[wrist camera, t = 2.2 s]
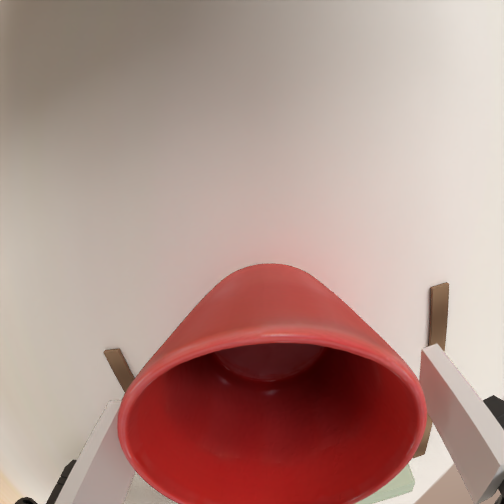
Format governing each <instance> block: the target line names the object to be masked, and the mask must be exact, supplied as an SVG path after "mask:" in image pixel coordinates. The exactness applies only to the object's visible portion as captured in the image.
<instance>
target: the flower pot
mask: <svg viewBox="0 0 504 504" xmlns="http://www.w3.org/2000/svg"><path fill="white" fill-rule="evenodd" d="M426 423H427V406H426V401H425V396H424V393H423V389H422V387H421V384H420V382H419V380H418V379H417V377H416V375H415V374H414V373H413V371H412V370H411V369H410V367H409V366H408V365H407V364H406V363H405V361H404V360H403V359H402V358H401V357H400V356H399V355H398V354H397V353H396V352H395V351H394V350H393V349H392V348H391V347H390V346H389V345H388V344H387V343H386V342H385V341H384V340H383V339H382V337H380V336H379V335H378V334H377V333H376V332H375V331H374V330H373V329H372V328H371V327H370V326H369V325H368V324H366V323H365V322H364V321H363V320H362V319H361V318H360V317H359V316H358V315H357V314H356V313H355V312H354V311H353V310H352V309H351V308H350V307H349V306H348V305H347V304H345V303H344V302H343V301H342V300H341V299H340V298H339V297H338V296H336V295H335V294H334V293H333V292H332V291H330V290H329V289H328V288H327V287H325V286H324V285H323V284H322V283H320V282H319V281H318V280H317V279H315V278H314V277H313V276H311V275H310V274H308V273H306V272H304V271H302V270H300V269H298V268H295V267H292V266H288V265H283V264H258V265H253V266H249V267H246V268H243V269H240V270H238V271H236V272H234V273H232V274H230V275H229V276H227V277H226V278H224V279H223V280H222V281H221V282H219V283H218V284H217V285H216V286H215V287H214V288H213V289H212V290H211V291H210V292H209V293H208V294H207V295H206V296H205V297H204V298H203V299H202V300H201V301H200V302H199V303H198V304H197V306H196V307H195V308H194V309H193V310H192V311H191V312H190V313H189V315H188V316H187V317H186V318H185V319H184V320H183V322H182V323H181V324H180V325H179V326H178V327H177V329H176V330H175V331H174V332H173V333H172V334H171V336H170V337H169V338H168V339H167V340H166V342H165V343H164V344H163V345H162V346H161V347H160V348H159V349H158V351H157V352H156V353H155V354H154V355H153V356H152V358H151V359H150V360H149V361H148V362H147V364H146V365H145V366H144V367H143V369H142V370H141V371H140V372H139V374H138V375H137V376H136V378H135V379H134V380H133V382H132V383H131V384H130V386H129V387H128V389H127V391H126V393H125V395H124V397H123V399H122V402H121V405H120V407H119V412H118V420H117V431H118V438H119V442H120V445H121V448H122V450H123V452H124V455H125V457H126V458H127V460H128V461H129V463H130V464H131V466H132V467H133V468H134V470H135V471H136V472H137V473H138V474H139V475H140V476H141V477H142V478H143V479H144V480H145V481H146V482H147V483H148V484H149V485H150V486H152V487H153V488H154V489H156V490H157V491H158V492H160V493H161V494H163V495H164V496H166V497H167V498H169V499H171V500H173V501H175V502H177V503H178V504H355V503H357V502H359V501H361V500H363V499H365V498H367V497H368V496H370V495H372V494H373V493H375V492H376V491H378V490H379V489H381V488H382V487H383V486H385V485H386V484H387V483H389V482H390V481H391V480H392V479H393V478H395V477H396V476H397V475H398V474H399V473H400V472H401V471H402V470H403V469H404V467H405V466H406V465H407V464H408V463H409V461H410V460H411V459H412V457H413V456H414V454H415V452H416V451H417V449H418V447H419V445H420V443H421V440H422V438H423V435H424V432H425V428H426Z"/></svg>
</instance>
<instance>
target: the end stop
mask: <svg viewBox="0 0 504 504" xmlns="http://www.w3.org/2000/svg"><path fill="white" fill-rule="evenodd" d="M414 484H415V480H414V478H413V475H412V472H411V469H410V467H409V464H407V465H406V466H405V467H404V469H403V470H402V471H401V472H400V473H399V474H398V475H397V476H396V477H395V478H393V479H392V480H391V481H390V482H389V483H387V484H386V485H385V486H383V487H382V488H381V489H379V490H378V491H376V492H375V493H373V494H372V495H370V496H368V497H367V498H365V499H363V500H361V501H359V502H357V503H355V504H373V503H376V502H380V501H383V500H387V499H390V498H393V497H396V496H400V495H403V494H406V493H409V492H411V491H412V490H413V487H414Z"/></svg>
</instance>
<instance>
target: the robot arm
mask: <svg viewBox="0 0 504 504" xmlns="http://www.w3.org/2000/svg"><path fill="white" fill-rule="evenodd" d="M419 382H420V384H421V387H422V389H423V393H424V396H425V401H426V406H427V412H428V414H429V416H430V418H431V420H432V422H433V423H434V425H435V427H436V429H437V431H438V433H439V434H440V436H441V438H442V440H443V442H444V444H445V446H446V448H447V450H448V452H449V453H450V455H451V457H452V459H453V461H454V463H455V465H456V467H457V469H458V471H459V473H460V475H461V477H462V479H463V481H464V484H465V486H466V487H467V490H468V492H469V494H470V496H471V498H472V500H473V503H474V504H479V503H481V502H483V501H485V500H487V499H488V498H490V497H492V496H493V495H494V494H495V492H496V491H497V489H499V491H500V493H501V495H500V497H499V498H498V499H497V500H496V502H495V504H504V401H503V400H501V399H499V398H498V397H496V396H494V395H493V396H491V397H489V398H487V399H485V400H483V401H482V399H481V398H480V397H479V395H478V394H477V393H476V391H475V390H474V389H473V387H472V386H471V385H470V384H469V382H468V381H467V380H466V378H465V377H464V376H463V375H462V373H461V372H460V371H459V370H458V368H457V367H456V366H455V365H454V363H453V362H452V361H451V360H450V358H449V357H448V356H447V355H446V353H445V352H444V351H443V350H442V349H441V347H440V346H439V345H438V344H434V345H431V346H428V347H425V348H422V352H421V367H420V379H419ZM121 402H122V400H119V401H109V403H108V405H107V406H106V408H105V410H104V412H103V414H102V415H101V417H100V419H99V421H98V422H97V424H96V426H95V428H94V430H93V431H92V433H91V435H90V437H89V439H88V441H87V442H86V444H85V446H84V448H83V450H82V452H81V454H80V455H79V457H78V459H77V460H72V461H71V462H70V463H69V464H68V465H67V466H66V467H65V469H64V471H63V472H62V474H61V478H59V480H58V482H57V484H56V486H55V487H54V489H53V491H52V493H51V495H50V497H49V499H48V501H47V503H46V504H124V501H125V498H126V496H127V493H128V490H129V487H130V484H131V482H132V479H133V476H134V473H135V470H134V468H133V467H132V466H131V464H130V463H129V461H128V460H127V458H126V457H125V455H124V452H123V450H122V448H121V445H120V442H119V438H118V431H117V420H118V412H119V407H120V405H121ZM15 504H37V503H36V502H35V501H34V500H33V499H32V498H28V497H25V498H21V499H19V500H18V501H17V502H16V503H15Z"/></svg>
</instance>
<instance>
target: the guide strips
mask: <svg viewBox="0 0 504 504" xmlns="http://www.w3.org/2000/svg"><path fill="white" fill-rule="evenodd" d="M448 299H449V284H448V283H447V282H446V283H443V284H440V285H436V286H433V287H431V309H430V333H429V346H431V345H434V344H438V345H439V346H440V347H441V349H442V350H443V351H444V350H445V341H446V330H447V317H448ZM104 354H105V356H106V358H107V360H108V362H109V364H110V366H111V368H112V370H113V372H114V374H115V376H116V377H117V379H118V381H119V383H120V385H121V386H122V388H123V390H124V392H125V393H126V391H127V389H128V387H129V386H130V384H131V383H132V382H133V380H134V379H135V378H134V376H133V374H132V373H131V371H130V369H129V367H128V365H127V363H126V361H125V359H124V357H123V355H122V352H121V350H120V349H110V350H105V351H104ZM431 427H432V420H431V418H430V416H429V414H428V412H427V423H426V428H425V432H424V435H423V438H422V440H421V443H420V445H419V447H418V449H417V451H416V452H415V454H414V456H413V458H416V457H418V456H421V455H424V454H425V451H426V447H427V443H428V439H429V435H430V431H431Z"/></svg>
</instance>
